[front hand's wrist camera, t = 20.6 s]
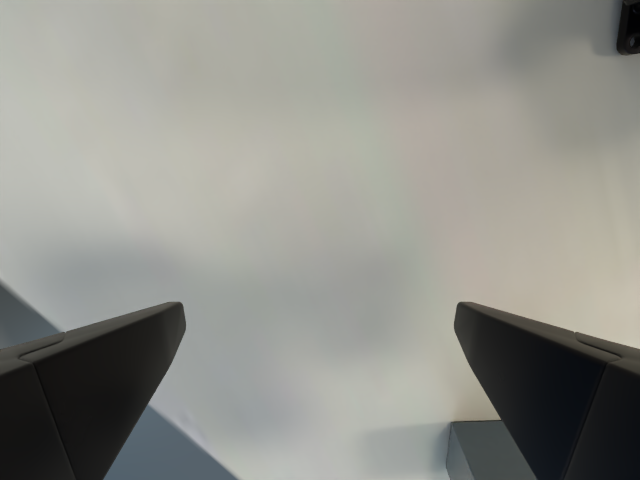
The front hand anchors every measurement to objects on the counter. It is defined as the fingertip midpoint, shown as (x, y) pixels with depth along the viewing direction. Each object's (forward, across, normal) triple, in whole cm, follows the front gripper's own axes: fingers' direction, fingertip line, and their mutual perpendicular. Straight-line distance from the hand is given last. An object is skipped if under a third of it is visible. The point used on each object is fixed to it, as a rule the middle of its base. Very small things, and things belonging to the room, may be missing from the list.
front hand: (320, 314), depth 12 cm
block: (+8, +11, -16) cm, 21 cm away
